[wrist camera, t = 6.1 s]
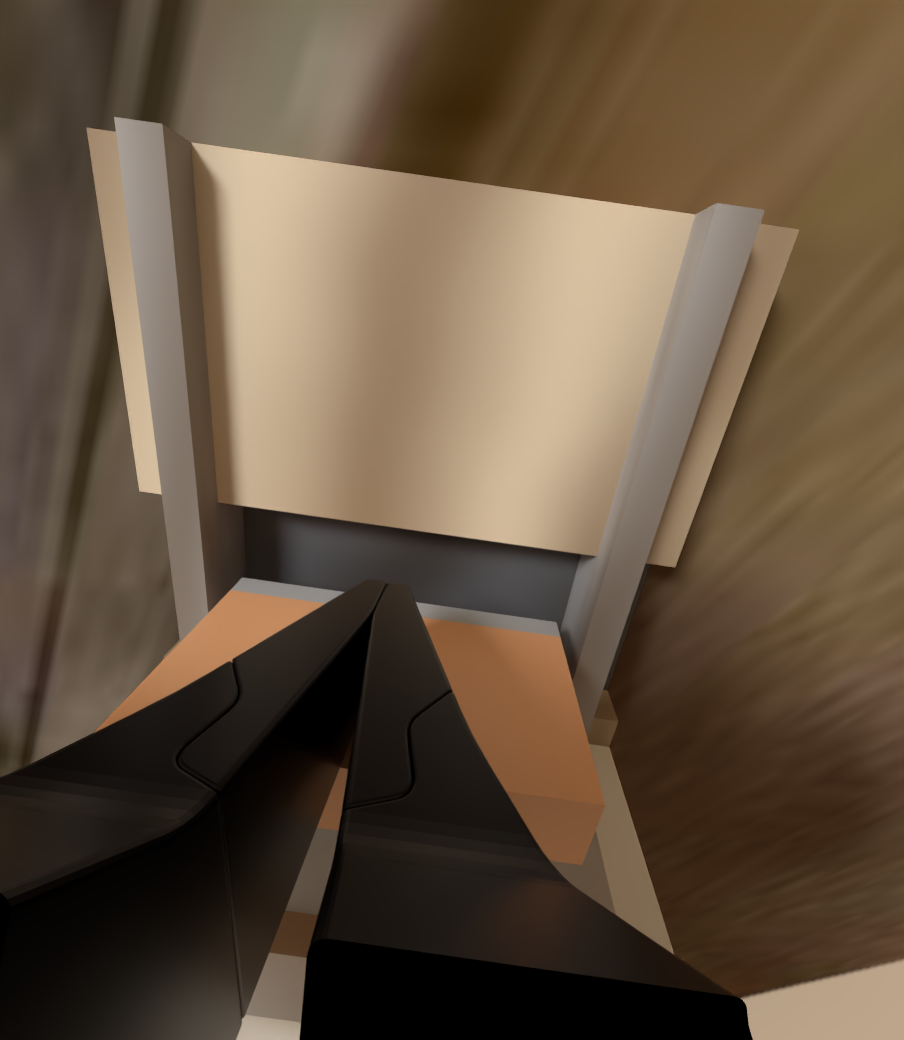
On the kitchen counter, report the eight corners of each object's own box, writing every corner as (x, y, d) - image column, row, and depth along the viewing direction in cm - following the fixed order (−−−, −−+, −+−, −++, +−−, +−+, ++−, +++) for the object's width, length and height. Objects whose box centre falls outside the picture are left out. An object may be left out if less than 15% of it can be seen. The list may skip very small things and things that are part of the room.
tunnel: (609, 746, 13) (713, 1081, 7) (562, 872, 16) (614, 1203, 10) (167, 684, 13) (-83, 968, 7) (187, 819, 16) (9, 1117, 10)
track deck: (753, 244, 10) (831, 219, 7) (518, 939, 20) (523, 1012, 18) (142, 157, 10) (47, 107, 7) (224, 898, 20) (193, 965, 18)
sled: (556, 622, 11) (604, 805, 7) (460, 981, 18) (455, 1190, 14) (242, 577, 11) (94, 732, 7) (263, 953, 18) (194, 1152, 14)
